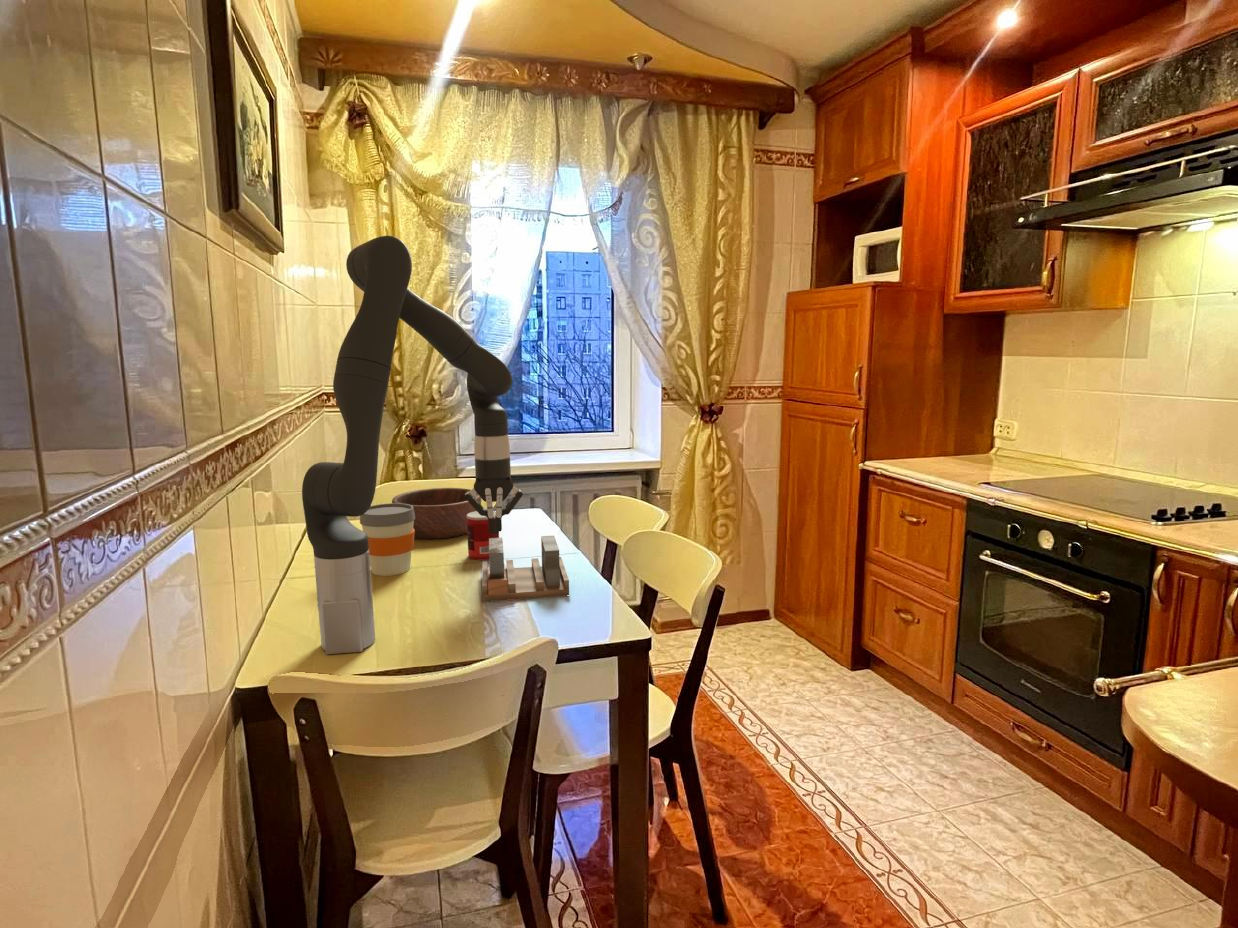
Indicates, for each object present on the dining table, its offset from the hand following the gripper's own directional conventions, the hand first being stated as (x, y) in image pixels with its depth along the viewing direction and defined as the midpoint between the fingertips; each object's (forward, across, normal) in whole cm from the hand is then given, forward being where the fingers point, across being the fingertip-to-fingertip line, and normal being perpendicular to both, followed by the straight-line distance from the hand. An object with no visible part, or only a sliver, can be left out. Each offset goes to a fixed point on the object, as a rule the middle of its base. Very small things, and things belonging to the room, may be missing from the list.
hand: (495, 533), depth 158 cm
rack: (+12, +6, 0) cm, 14 cm away
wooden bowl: (+13, -16, +53) cm, 57 cm away
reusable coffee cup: (+13, -25, +18) cm, 33 cm away
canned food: (+13, -3, +25) cm, 28 cm away
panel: (+11, 0, 0) cm, 11 cm away
